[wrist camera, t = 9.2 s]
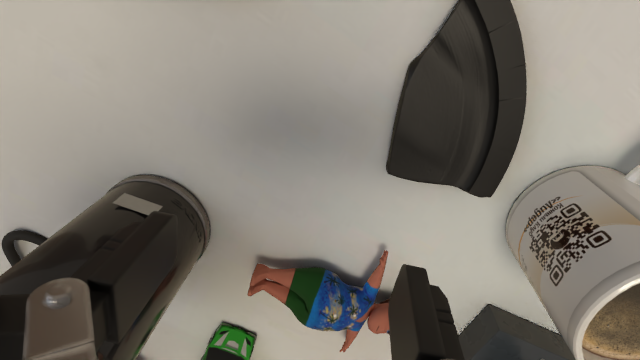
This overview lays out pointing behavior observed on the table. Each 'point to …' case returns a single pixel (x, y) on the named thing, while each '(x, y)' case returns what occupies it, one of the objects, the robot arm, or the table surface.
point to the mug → (584, 256)
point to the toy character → (326, 298)
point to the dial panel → (510, 339)
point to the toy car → (230, 344)
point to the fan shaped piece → (463, 101)
